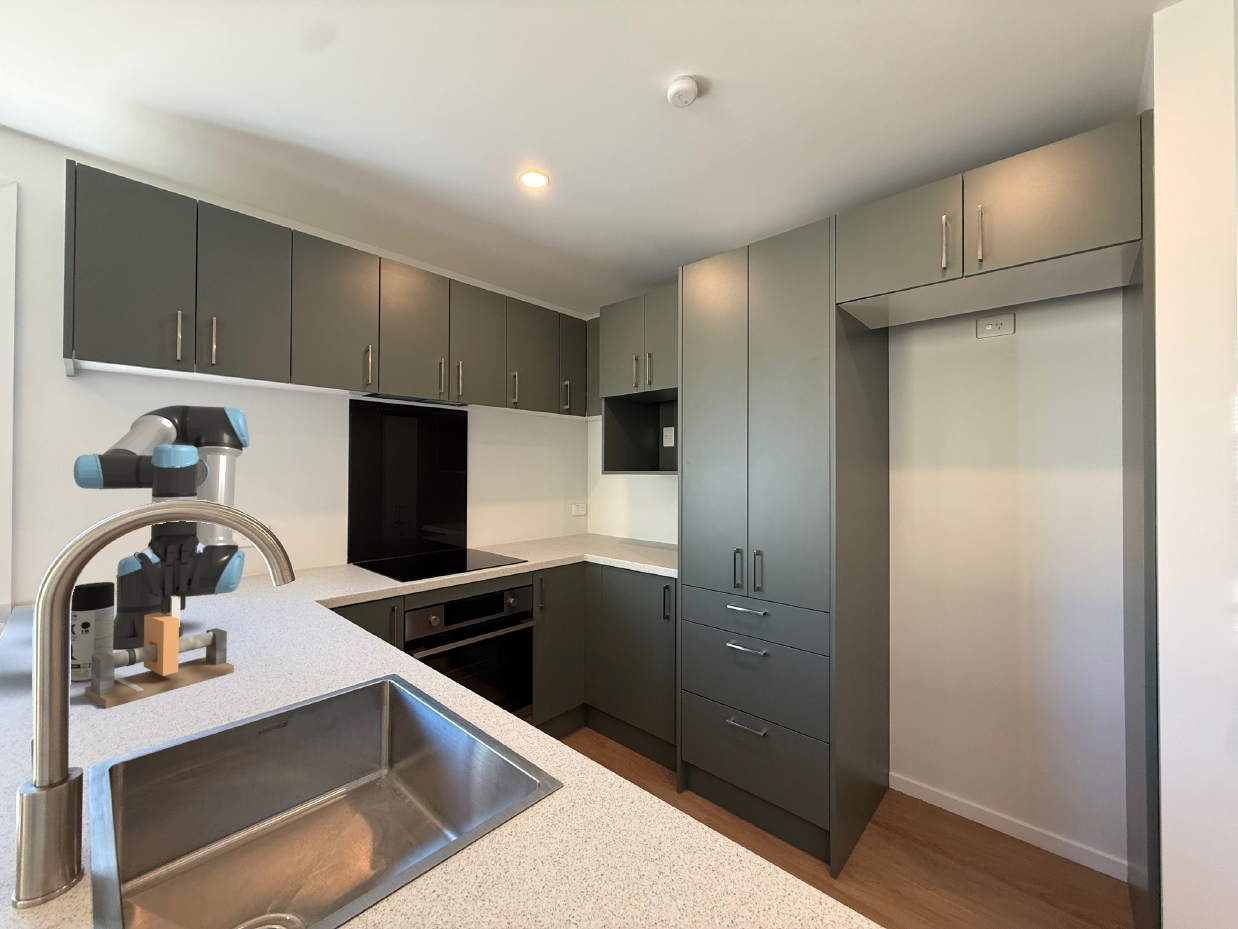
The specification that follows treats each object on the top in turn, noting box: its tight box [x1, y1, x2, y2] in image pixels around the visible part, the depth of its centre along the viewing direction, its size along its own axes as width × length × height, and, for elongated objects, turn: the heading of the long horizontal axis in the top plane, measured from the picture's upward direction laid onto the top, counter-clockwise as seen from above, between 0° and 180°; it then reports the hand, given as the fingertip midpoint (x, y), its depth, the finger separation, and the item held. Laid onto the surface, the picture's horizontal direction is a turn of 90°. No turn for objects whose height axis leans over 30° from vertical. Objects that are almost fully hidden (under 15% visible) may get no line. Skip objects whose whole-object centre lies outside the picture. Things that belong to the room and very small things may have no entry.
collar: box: [143, 612, 180, 676], centre depth 110 cm, size 2×10×11 cm, turn 59°
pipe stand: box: [84, 627, 235, 709], centre depth 111 cm, size 21×12×9 cm, turn 149°
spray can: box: [70, 581, 115, 683], centre depth 114 cm, size 7×7×20 cm
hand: (173, 626), depth 112 cm, fingers closed
